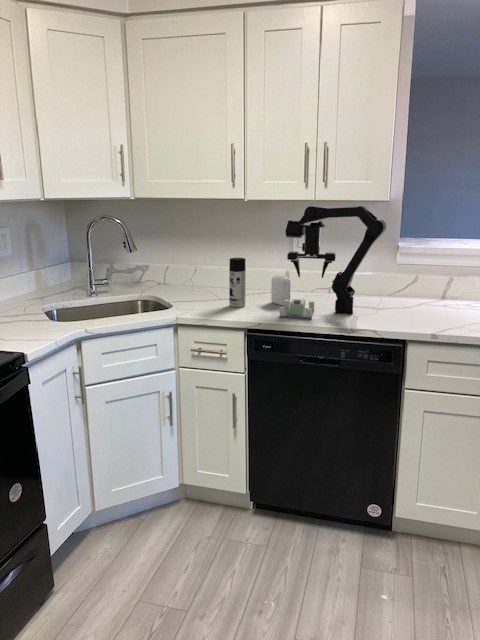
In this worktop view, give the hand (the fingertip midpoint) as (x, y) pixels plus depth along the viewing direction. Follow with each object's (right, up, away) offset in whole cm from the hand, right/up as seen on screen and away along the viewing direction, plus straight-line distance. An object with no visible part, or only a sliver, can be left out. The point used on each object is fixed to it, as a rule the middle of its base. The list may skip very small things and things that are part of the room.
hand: (310, 277), depth 208 cm
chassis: (-6, -15, -5) cm, 17 cm away
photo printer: (-11, -10, +13) cm, 20 cm away
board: (-6, -14, -6) cm, 16 cm away
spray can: (-29, -11, +9) cm, 33 cm away
